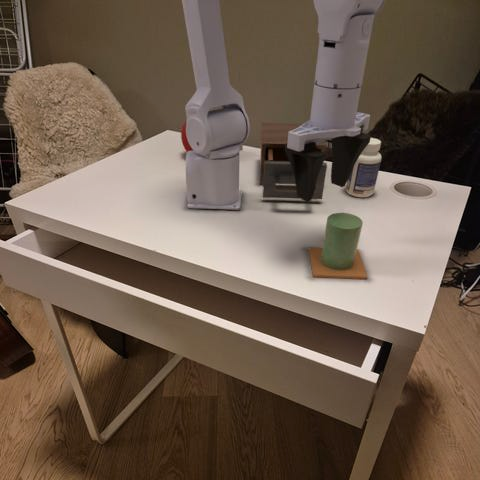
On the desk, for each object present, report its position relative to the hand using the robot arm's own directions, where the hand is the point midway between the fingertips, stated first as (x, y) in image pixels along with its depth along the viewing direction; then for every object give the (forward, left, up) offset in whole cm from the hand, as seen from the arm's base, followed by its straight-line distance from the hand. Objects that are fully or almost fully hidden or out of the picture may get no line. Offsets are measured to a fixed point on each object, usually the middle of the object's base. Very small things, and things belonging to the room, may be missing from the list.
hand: (321, 191), depth 59 cm
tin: (+3, -5, -8) cm, 10 cm away
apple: (-22, +39, -9) cm, 46 cm away
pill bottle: (+11, +21, -9) cm, 26 cm away
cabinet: (-3, +30, -9) cm, 32 cm away
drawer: (-3, +20, -8) cm, 21 cm away
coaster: (+3, -5, -9) cm, 11 cm away
